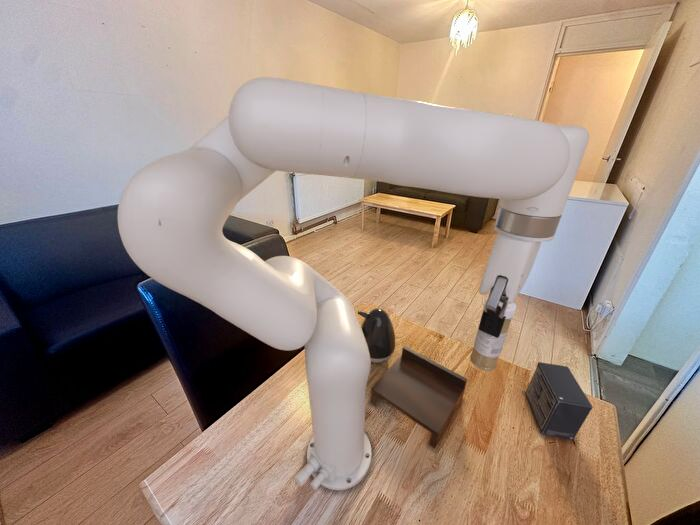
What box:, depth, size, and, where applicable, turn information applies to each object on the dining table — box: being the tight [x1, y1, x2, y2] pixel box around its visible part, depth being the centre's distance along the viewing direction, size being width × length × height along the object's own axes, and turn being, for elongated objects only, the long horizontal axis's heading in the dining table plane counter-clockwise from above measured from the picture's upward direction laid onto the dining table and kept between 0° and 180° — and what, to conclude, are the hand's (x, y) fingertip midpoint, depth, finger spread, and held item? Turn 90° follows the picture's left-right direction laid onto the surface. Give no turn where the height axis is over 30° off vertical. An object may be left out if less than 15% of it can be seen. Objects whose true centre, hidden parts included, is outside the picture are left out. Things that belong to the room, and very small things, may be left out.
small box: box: [524, 361, 594, 441], centre depth 61 cm, size 11×6×10 cm, turn 168°
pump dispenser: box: [357, 308, 396, 364], centre depth 76 cm, size 10×10×15 cm
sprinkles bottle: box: [469, 295, 517, 372], centre depth 49 cm, size 5×5×14 cm
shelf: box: [370, 345, 468, 450], centre depth 64 cm, size 14×16×8 cm
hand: (493, 324), depth 48 cm, fingers closed on sprinkles bottle, 4 cm apart
